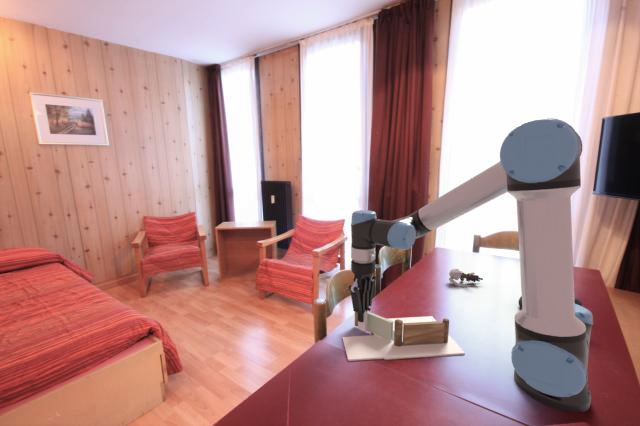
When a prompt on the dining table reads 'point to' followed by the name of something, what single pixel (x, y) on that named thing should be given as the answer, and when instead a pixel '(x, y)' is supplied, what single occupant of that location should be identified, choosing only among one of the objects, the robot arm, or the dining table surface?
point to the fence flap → (378, 325)
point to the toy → (462, 277)
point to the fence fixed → (421, 332)
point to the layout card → (386, 349)
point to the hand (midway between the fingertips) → (362, 329)
